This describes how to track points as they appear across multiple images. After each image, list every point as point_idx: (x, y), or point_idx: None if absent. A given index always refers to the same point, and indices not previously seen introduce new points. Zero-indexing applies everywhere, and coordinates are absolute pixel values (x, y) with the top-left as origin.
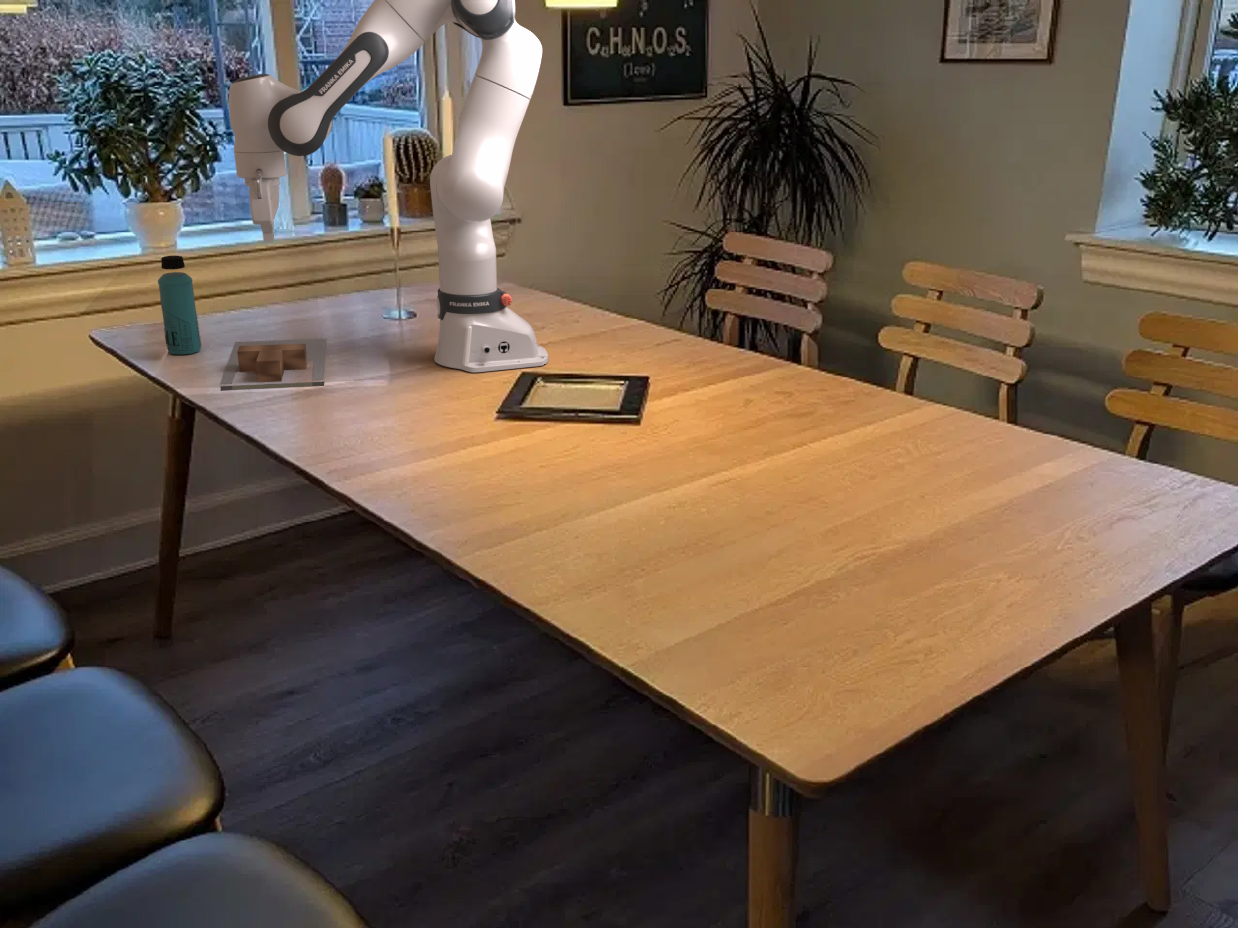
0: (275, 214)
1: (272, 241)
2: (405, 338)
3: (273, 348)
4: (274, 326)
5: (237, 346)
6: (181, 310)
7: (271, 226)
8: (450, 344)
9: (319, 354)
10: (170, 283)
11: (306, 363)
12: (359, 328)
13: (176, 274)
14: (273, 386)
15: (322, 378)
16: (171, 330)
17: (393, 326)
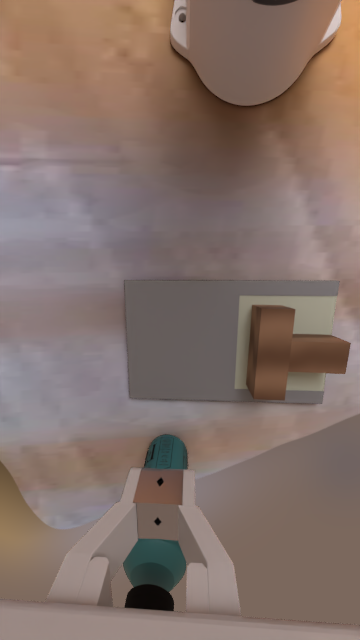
0: (166, 630)
1: (193, 470)
2: (104, 155)
3: (279, 353)
4: (27, 353)
5: (153, 394)
6: None
7: (225, 551)
8: (309, 34)
9: (210, 289)
10: (185, 569)
11: (268, 305)
12: (40, 232)
13: (153, 576)
14: None
15: (333, 282)
16: None
17: (29, 175)
